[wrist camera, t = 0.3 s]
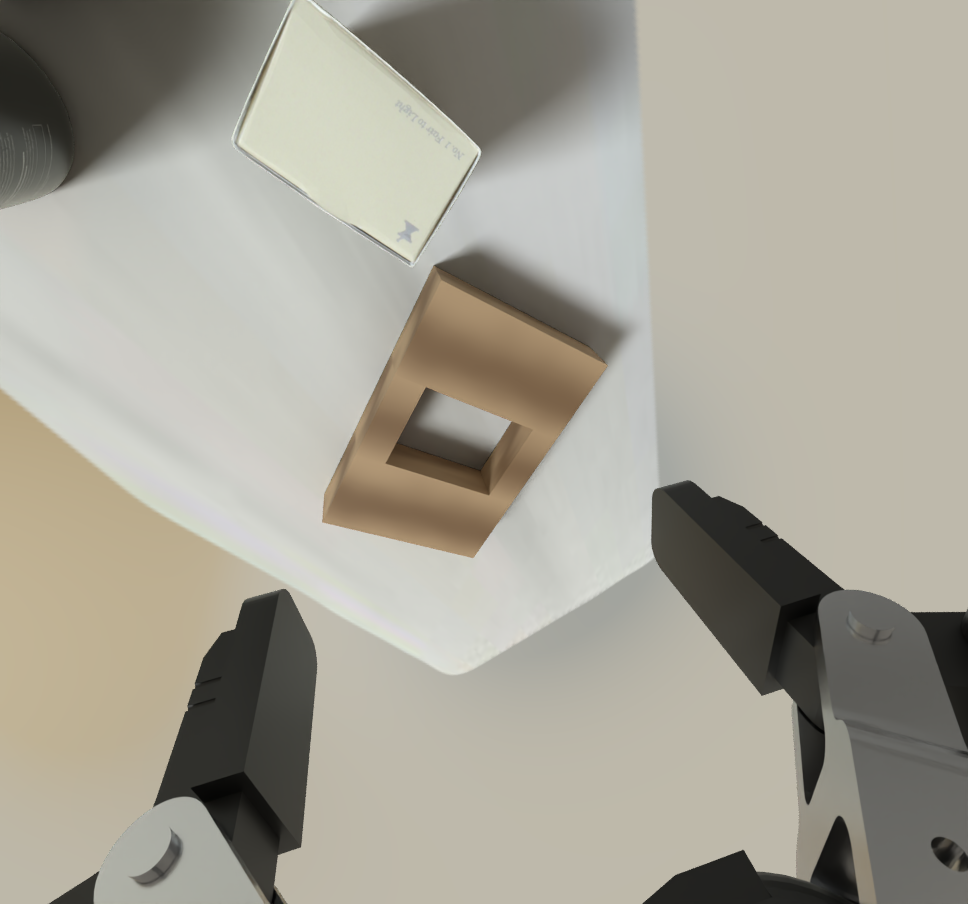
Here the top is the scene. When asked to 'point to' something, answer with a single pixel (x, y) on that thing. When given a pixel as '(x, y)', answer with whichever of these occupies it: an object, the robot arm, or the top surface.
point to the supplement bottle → (30, 129)
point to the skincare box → (353, 134)
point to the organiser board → (473, 380)
